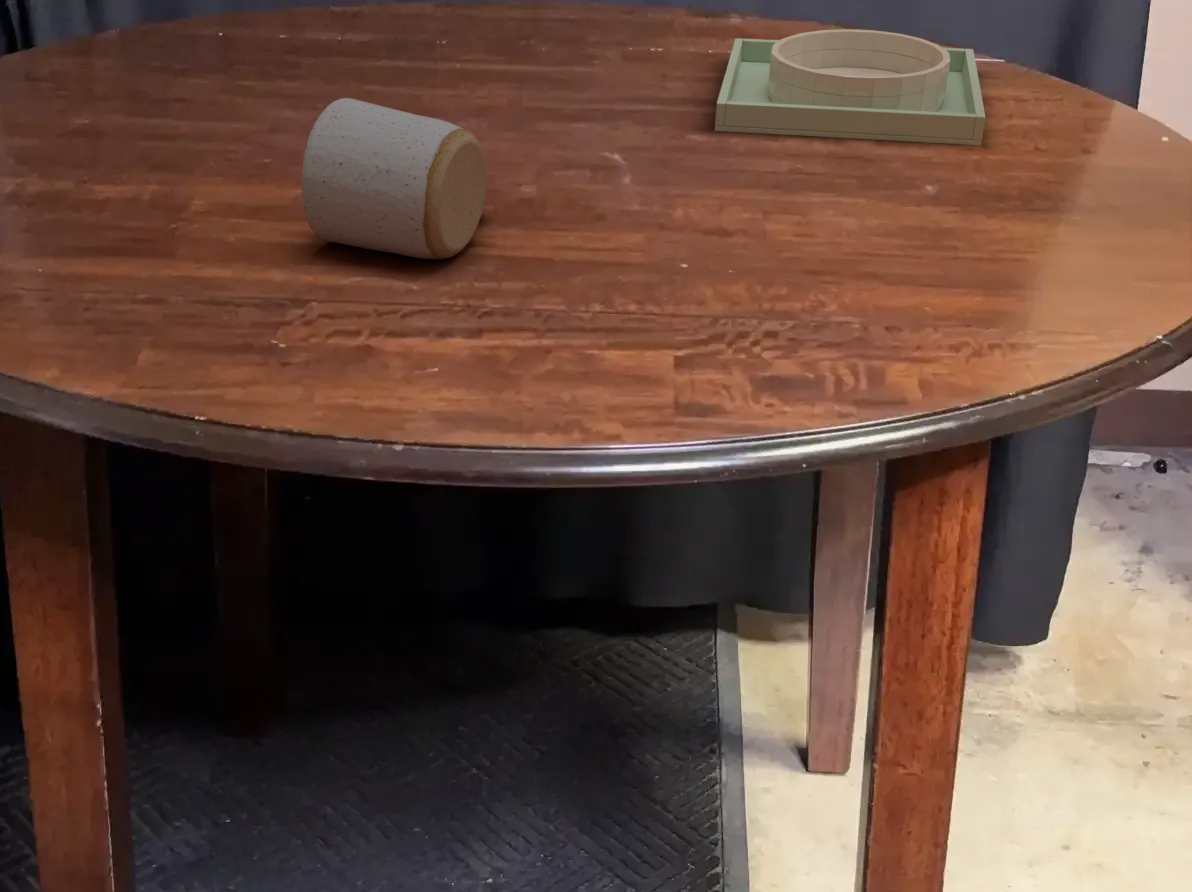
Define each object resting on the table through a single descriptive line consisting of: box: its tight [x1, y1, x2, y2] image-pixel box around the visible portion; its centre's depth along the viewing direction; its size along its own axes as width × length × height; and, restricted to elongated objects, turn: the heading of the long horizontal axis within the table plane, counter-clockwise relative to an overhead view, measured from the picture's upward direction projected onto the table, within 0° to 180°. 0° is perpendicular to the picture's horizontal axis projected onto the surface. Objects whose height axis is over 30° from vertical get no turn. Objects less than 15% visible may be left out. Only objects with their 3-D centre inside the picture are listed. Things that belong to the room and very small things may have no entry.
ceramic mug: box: [301, 97, 488, 260], centre depth 83 cm, size 11×8×8 cm
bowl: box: [768, 28, 950, 112], centre depth 104 cm, size 12×12×3 cm
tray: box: [714, 37, 987, 146], centre depth 105 cm, size 17×16×2 cm
